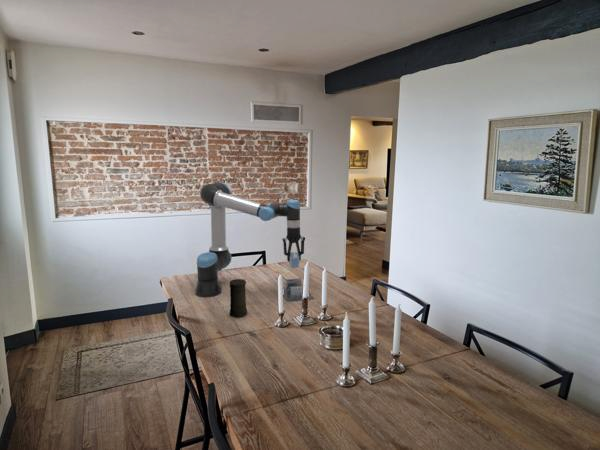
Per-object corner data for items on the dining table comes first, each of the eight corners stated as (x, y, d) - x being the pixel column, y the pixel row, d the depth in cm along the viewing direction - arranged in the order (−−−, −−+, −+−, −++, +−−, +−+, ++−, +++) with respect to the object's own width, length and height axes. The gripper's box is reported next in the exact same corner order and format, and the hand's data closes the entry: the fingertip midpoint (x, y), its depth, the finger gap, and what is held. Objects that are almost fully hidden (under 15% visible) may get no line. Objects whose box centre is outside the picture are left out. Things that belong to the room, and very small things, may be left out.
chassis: (279, 289, 241) (279, 277, 240) (304, 287, 245) (304, 275, 244) (287, 301, 222) (286, 289, 221) (313, 298, 227) (314, 286, 225)
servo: (289, 264, 234) (288, 250, 232) (295, 264, 235) (295, 250, 233) (292, 269, 225) (292, 254, 223) (299, 268, 226) (299, 253, 224)
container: (248, 311, 209) (248, 278, 205) (244, 318, 200) (244, 284, 197) (232, 310, 210) (231, 278, 206) (227, 317, 201) (226, 284, 198)
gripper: (280, 229, 220) (281, 269, 224) (309, 227, 224) (309, 266, 228) (277, 226, 227) (278, 265, 231) (306, 224, 231) (306, 263, 235)
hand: (294, 266), depth 230 cm, fingers closed on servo, 4 cm apart
